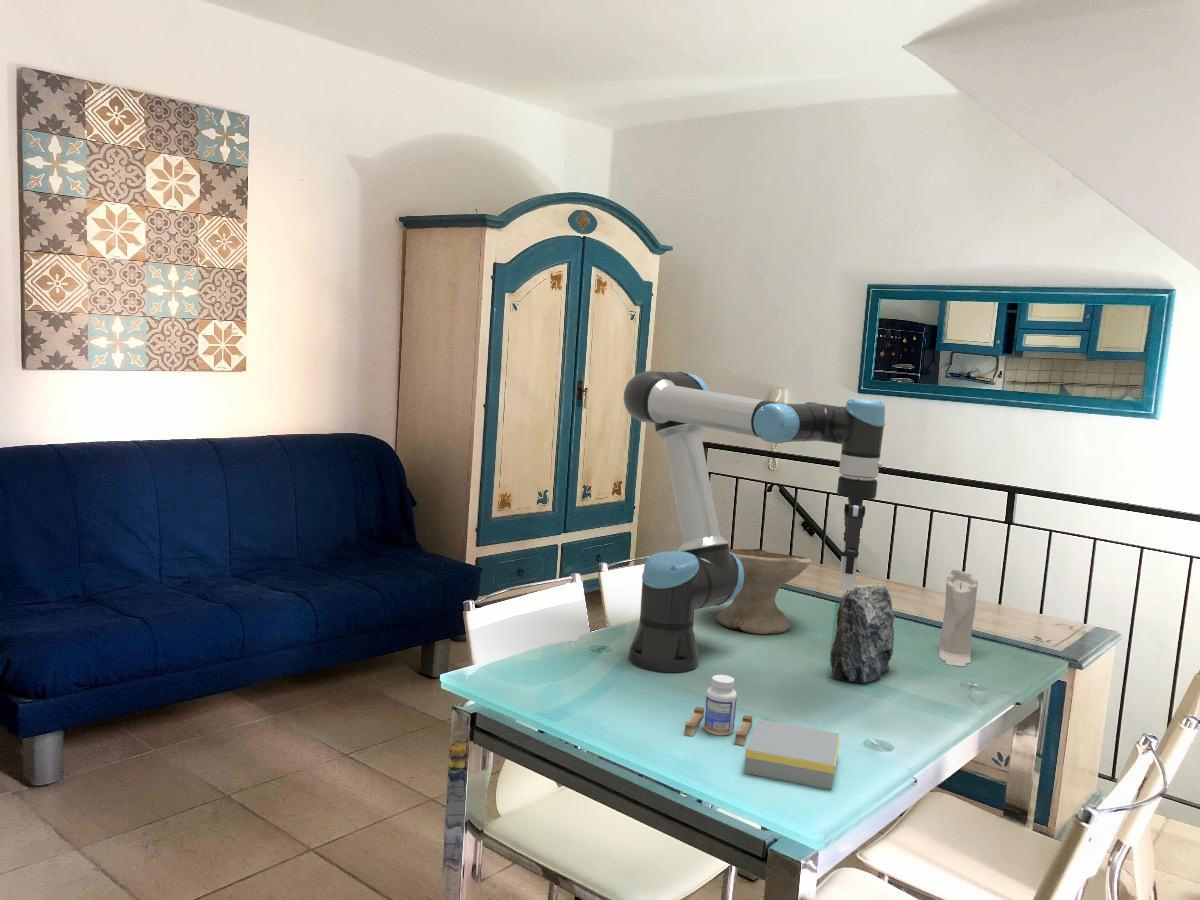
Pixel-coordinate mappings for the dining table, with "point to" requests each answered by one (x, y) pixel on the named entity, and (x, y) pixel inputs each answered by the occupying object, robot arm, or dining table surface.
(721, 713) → the pill bottle
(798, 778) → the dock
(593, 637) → the dining table surface
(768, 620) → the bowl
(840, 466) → the robot arm
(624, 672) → the dining table surface
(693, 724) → the wooden rail rack
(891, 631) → the stone block
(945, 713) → the dining table surface
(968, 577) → the candle
